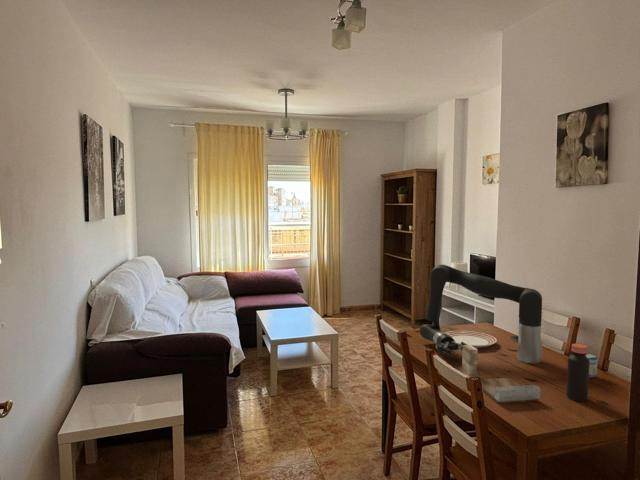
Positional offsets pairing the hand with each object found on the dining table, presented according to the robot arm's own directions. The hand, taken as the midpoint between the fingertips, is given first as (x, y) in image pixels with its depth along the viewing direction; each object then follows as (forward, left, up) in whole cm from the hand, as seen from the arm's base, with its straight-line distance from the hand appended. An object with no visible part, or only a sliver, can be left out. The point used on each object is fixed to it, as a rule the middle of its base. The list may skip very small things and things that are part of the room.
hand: (459, 352), depth 183 cm
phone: (-51, -28, -7) cm, 59 cm away
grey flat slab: (-5, +26, -7) cm, 27 cm away
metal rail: (-5, +35, -5) cm, 35 cm away
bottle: (-29, +35, -7) cm, 46 cm away
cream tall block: (0, +9, -7) cm, 11 cm away
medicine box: (-48, +17, -7) cm, 51 cm away
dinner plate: (-21, -31, -7) cm, 38 cm away
